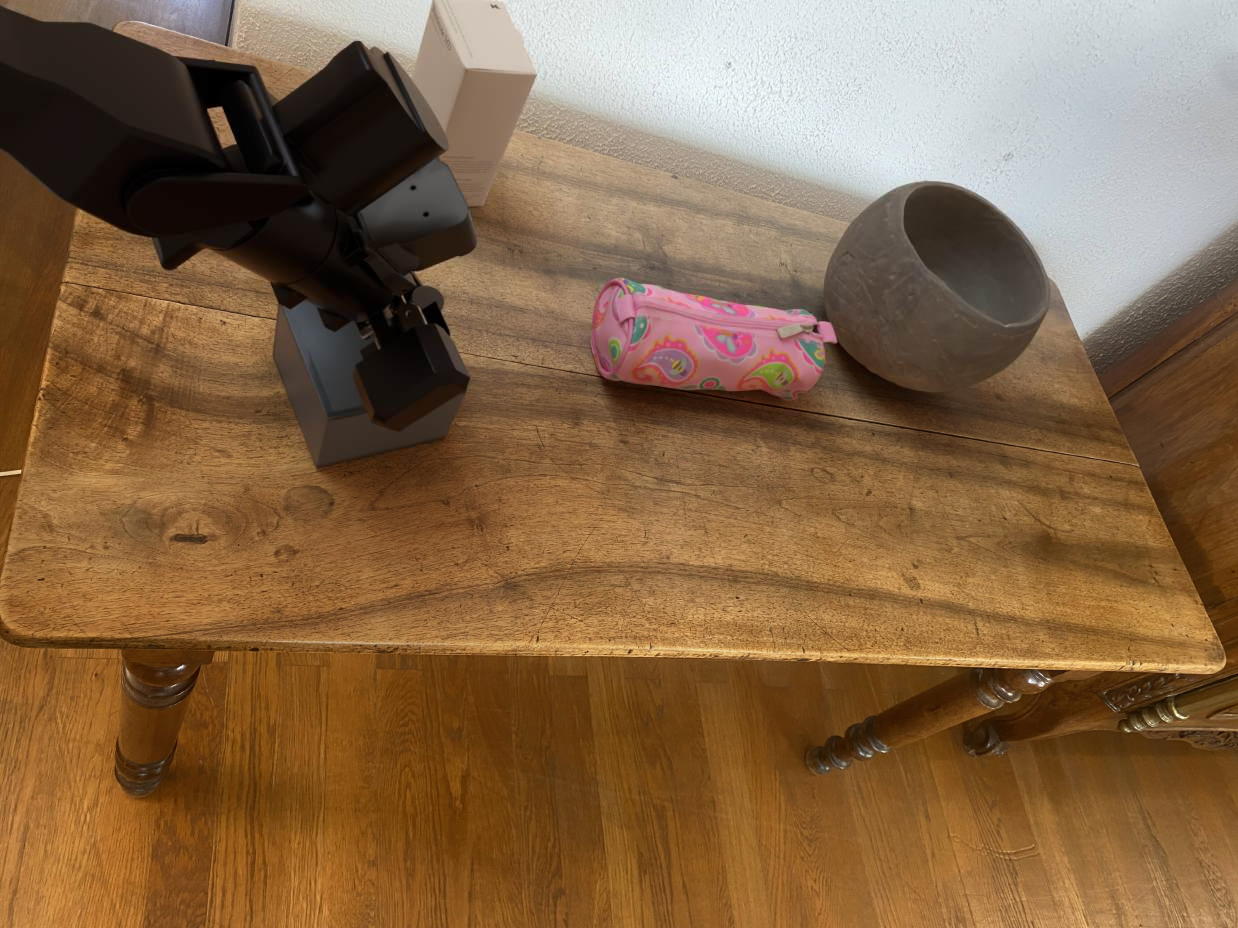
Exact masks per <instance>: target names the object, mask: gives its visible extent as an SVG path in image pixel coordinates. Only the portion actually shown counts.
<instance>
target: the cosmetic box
mask: <svg viewBox="0 0 1238 928" xmlns="http://www.w3.org/2000/svg"><path fill="white" fill-rule="evenodd" d="M537 77H538V73H537V71H536V69H535V67H534V65H533V62H532V60H531V58H530V56H529V53H528V51H527V50H526V47H525V39H524V37H523V35H522V33H521V31H520V30H519V29H518V28H516V26H515V24H514V22H513V19H512V17H511V15H510V13H509V11H508V8H507V7H506V3H505V2H504V1H499V0H431V4H430V7H429V12H428V16H427V20H426V23H425V27H424V31H423V34H422V39H421V41H420V46H419V50H418V53H417V56H416V61H415V64H414V68H413V72H412V76H411V79H412V81H413V82H414V83H415V85H416V86H417V88H418V89H419V91H420V92H421V94H422V95H423V97H424V98H425V100H426V101H427V103H428V104H429V106H430V107H431V109H432V111H433V112H434V114H435V116H436V117H437V119H438V121H439V123H440V125H441V126H442V128H443V130H444V132H445V135H446V137H447V140H448V143H449V150H448V151H446V152H445V153H443V154H442V155H441V156H439V158H440V160H441V161H442V162H444V163H446V164H447V165H448V166H449V168H450V170H451V172H452V174H453V176H454V178H455V180H456V182H457V184H458V186H459V188H460V190H461V192H462V194H463V196H464V198H465V200H466V202H467V204H468V207H469V208H471V207H483V206H484V205H485V201H486V200H487V198H488V194H489V192H490V190H491V188H492V185H493V183H494V180H495V177H496V175H497V173H498V170H499V168H500V165H501V163H502V161H503V159H504V157H505V153H506V151H507V149H508V146H509V143H510V141H511V139H512V136H513V134H514V132H515V129H516V127H517V124H518V122H519V120H520V117H521V115H522V112H523V110H524V107H525V105H526V103H527V101H528V97H529V95H530V93H531V91H532V88H533V86H534V84H535V81H536V79H537Z"/></svg>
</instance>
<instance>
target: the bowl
mask: <svg viewBox="0 0 1238 928" xmlns="http://www.w3.org/2000/svg"><path fill="white" fill-rule="evenodd" d="M822 289H823V291H822V296H823V303H824V304H823V306H824V311H825V315H826V319H827V322H830V323H831V325H832V327H833V329H834V332H835V335H836V339H837V343H839V345H840V346H841V347H842V348H843V349H844V350H845V351H846V353H847V354H849V355H850V357H852V358H853V359H854V360H855V361H856V362H858V363H859V364H861V365H862V366H863V367H865V369H867V370H868V371H870V373H872V374H876V375H877V376H879V377H881V378H882V379H884V380H887V381H888V382H892V383H893V384H895V385H897V386H899V387H901V388H904V389H908V390H913V391H918V392H919V391H920V392H926V393H943V392H949V391H953V390H958V389H962V388H963V389H964V388H966V387H970V386H973V385H976V384H979V383H982V382H983V381H986V380H989V379H990V378H992V377H994V376H995V375H998V374H999V373H1001V372H1003V371H1004V370H1005V369H1007V368H1008V367H1009V366H1010V365H1012V364H1013V363H1014V362H1015V361H1016V360H1018V358H1019V357H1020V356H1021V355H1022V354H1024V352H1025V351H1026V349H1027V348H1028V347H1029V346H1030V344H1031V342H1032V341H1033V340H1034V338H1035V336H1036V335H1037V332H1038V331H1039V329H1040V327H1041V325H1042V323H1043V321H1044V320H1045V318H1046V316H1047V313H1048V312H1049V308H1050V303H1051V293H1052V292H1051V285H1050V279H1049V277H1048V274H1047V272H1046V269H1045V266H1044V264H1043V262H1042V259H1041V258H1040V256H1039V254H1038V253H1037V251H1036V249H1035V248H1034V245H1033V244H1032V242H1031V241H1030V240H1029V238H1028V237H1027V236H1026V234H1025V233H1024V231H1023V230H1022V229H1021V228H1020V226H1018V225H1017V224H1016V223H1015V222H1014V220H1012V219H1011V217H1009V216H1008V215H1007V214H1006V213H1004V212H1003V211H1002V210H1001V209H1000V208H998V207H997V206H996V205H995V204H994V203H992V202H991V201H989V200H988V199H987V198H985V197H983V195H980V194H978V193H976V192H974V191H973V190H970V189H968V188H966V187H964V186H962V185H958V184H956V183H953V182H946V181H940V180H920V181H914V182H908V183H906V184H903V185H899V186H897V187H895V188H893V189H891V190H890V191H888V192H886V193H883V195H881V196H879V198H877V199H876V200H874V201H873V202H871V203H870V204H869V205H868V206H867V207H866V208H864V209H863V211H861V212H860V213H859V214H858V215H857V216H856V217H855V218H854V219H853V220H852V221H851V222H850V224H849V225H848V226H847V228H846V229H845V231H844V233H842V236H841V237H840V240H839V241H838V243H837V245H836V247H835V248H834V250H833V252H832V254H831V256H830V258H829V260H828V263H827V267H826V271H825V274H824V278H823V288H822Z"/></svg>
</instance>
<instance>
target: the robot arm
mask: <svg viewBox="0 0 1238 928" xmlns="http://www.w3.org/2000/svg"><path fill="white" fill-rule="evenodd" d="M215 108H222V112H223V114H224V116H225V118H226V121H227V123H228V126H229V128H230V130H231V131H230V132H231V133H232V136H233V138H234V141H235V143H233V144H230V145H228V146H224V147H223V145H222V143H221V140H220V138H219V134H218V132H217V129H216V128H215V124H214V123H213V120H212V118H211V115H210V113H209V110H210V109H215ZM208 109H209V110H208ZM448 150H449V143H448V140H447V137H446V135H445V132H444V130H443V128H442V126H441V125H440V123H439V121H438V119H437V117H436V116H435V114H434V112H433V111H432V109H431V107H430V106H429V104H428V103H427V101H426V100H425V98H424V97H423V95H422V94H421V92H420V91H419V89H418V88H417V86H416V85H415V83H414V82H413V81H412V77H411V76H410V75H409V74H408V73H407V71H406V70H405V69H404V68H403V66H402V65H401V64H400V63H399V62H398V60H397V59H396V58H395V57H394V56H393V54H391V53H390V51H388V50H387V51H386V52H384V51H383V50H381V48H379V47H377V46H375V45H374V46H372V47H370V49H369V48H368V47H367V46H366V45H365V44H364V42H362V41H361V40H353V41H352V42H351V43H349V44H347V46H345V47H344V48H343V49H341V50H340V51H339V52H338V53H336V54H335V55H334V56H333V57H332V59H330V61H329V62H328V63H327V64H326V65H325V66H324V67H323V68H321V69H320V70H319V71H318V72H317V73H315V74H314V75H312V76H311V77H310V78H309V79H307V80H306V81H305V82H303V83H302V84H300V85H299V86H297V87H296V88H295V89H294V90H292V91H291V92H289V93H288V94H287V95H286V96H284V97H282V98H281V99H280V100H279V99H278V98H277V97H275V96H274V95H273V94H272V93H271V92H270V91H269V90H268V88H267V86H266V84H265V81H264V79H263V76H262V74H261V71H260V70H259V68H258V66H256V65H252V64H243V63H235V62H228V61H220V60H216V59H205V58H196V57H188V56H180V55H172V54H171V53H169V52H167V51H165V50H163V49H161V48H158V47H155V46H152V45H150V44H148V43H146V42H143V41H140V40H137V39H135V38H133V37H130V36H127V35H124V34H123V33H119V32H116V31H115V30H112V29H109V28H106V27H105V26H104V27H103V26H101V25H98V24H96V23H92V22H89V21H65V20H64V21H63V20H62V21H60V20H59V21H58V20H40V19H37V18H34V17H32V16H28V15H26V14H24V13H21V12H18V11H15V10H13V9H10V8H7V7H4V5H1V4H0V151H2V152H4V153H5V154H6V155H8V156H9V157H10V158H12V160H14V161H15V162H16V163H17V164H19V165H20V166H21V167H22V168H23V169H24V170H25V171H27V172H28V173H29V174H30V175H31V176H32V177H33V178H35V179H36V180H37V181H38V182H39V183H40V184H42V185H43V187H45V188H46V189H47V190H49V191H50V192H51V193H52V194H53V195H55V196H56V197H57V198H58V199H60V200H61V201H62V202H65V203H67V204H69V205H71V206H72V207H75V208H76V209H78V210H81V211H83V212H84V213H87V214H88V215H90V216H92V217H94V218H96V219H98V220H100V221H102V222H104V223H106V224H107V225H110V226H112V227H114V228H115V229H118V230H119V231H122V232H125V233H127V234H130V235H133V236H139V237H144V238H149V239H151V241H152V244H153V247H154V249H155V253H156V255H157V258H158V262H159V264H160V266H161V268H162V269H163V270H165V271H175V270H176V269H177V268H179V267H181V266H182V265H183V264H185V263H186V262H187V261H189V260H190V259H192V258H193V257H194V256H196V255H197V254H199V253H200V252H201V251H204V250H206V249H208V250H209V251H212V252H214V253H215V254H217V255H219V256H221V257H223V258H225V259H226V260H228V261H230V262H232V263H234V264H236V265H238V266H239V267H241V268H244V269H245V270H247V271H249V272H251V273H253V274H254V275H257V276H259V277H260V278H262V279H264V280H266V281H267V282H269V283H270V287H271V289H272V291H273V294H274V296H275V299H276V301H277V305H278V304H280V305H282V306H284V307H286V308H288V309H290V310H291V309H292V308H294V307H295V306H297V305H298V304H300V303H301V302H303V301H304V300H305V301H307V302H309V303H311V304H312V305H314V306H316V307H317V310H318V312H319V315H320V317H321V320H322V322H323V324H324V327H325V328H327V329H329V330H331V331H333V332H336V331H338V330H339V329H341V328H342V327H344V326H345V325H347V324H348V323H350V322H351V321H353V322H354V323H355V326H356V328H357V330H358V333H359V335H360V337H361V338H363V339H365V340H367V339H369V338H370V337H372V336H373V335H374V334H375V335H376V339H375V341H373V342H372V343H370V344H369V345H367V346H366V347H364V348H363V349H361V350H360V353H361V355H362V358H363V360H362V361H360V362H359V363H357V364H356V365H355V367H354V371H353V375H352V378H353V380H354V383H355V385H356V388H357V390H358V392H359V395H360V397H361V400H362V402H363V404H364V407H365V409H366V412H367V414H368V416H369V419H370V421H371V423H373V424H375V425H378V426H381V427H383V428H386V429H389V430H392V431H396V432H400V431H402V430H404V429H405V428H407V427H408V426H410V425H411V424H413V423H415V422H416V421H418V420H419V419H421V418H423V417H424V416H426V415H427V414H429V413H431V412H432V411H434V410H435V409H437V408H439V407H440V406H442V405H443V404H445V403H447V402H448V401H450V400H451V399H453V398H454V397H456V396H458V395H459V394H461V393H462V392H464V391H466V390H467V391H468V388H469V387H468V386H469V383H470V380H471V376H470V373H469V371H468V369H467V367H466V364H465V362H464V360H463V358H462V356H461V353H460V352H459V350H458V348H457V344H456V343H455V341H453V339H452V338H451V330H450V328H449V325H447V324H448V323H447V322H446V319H445V317H444V315H443V313H442V312H441V311H440V309H439V306H438V304H437V302H436V301H434V302H433V303H431V304H430V305H428V306H427V307H425V308H424V309H422V310H421V309H420V307H419V306H417V305H416V304H414V303H409V302H410V299H411V296H412V293H413V291H414V290H415V289H416V288H417V287H420V286H424V284H423V283H422V281H421V280H420V278H419V277H418V276H417V274H416V273H415V272H422V271H424V270H427V269H429V268H432V267H434V266H436V265H439V264H441V263H444V262H447V261H449V260H451V259H454V258H457V257H459V258H461V257H464V256H466V255H469V254H470V253H472V252H473V251H474V250H475V249H476V247H477V245H478V236H477V234H476V229H475V225H474V222H473V221H474V220H473V218H472V214H471V211H470V207H468V204H467V202H466V200H465V198H464V196H463V194H462V192H461V190H460V188H459V186H458V184H457V182H456V180H455V178H454V176H453V174H452V172H451V170H450V168H449V166H448V165H447V164H446V163H444V162H442V161H441V160H440V158H439V156H441V155H442V154H443V153H445V152H446V151H448ZM390 305H391V306H390ZM392 310H393V311H392ZM467 391H466V392H467Z"/></svg>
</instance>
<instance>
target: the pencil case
mask: <svg viewBox="0 0 1238 928" xmlns="http://www.w3.org/2000/svg"><path fill="white" fill-rule="evenodd" d="M825 343H830V344H833V345H835V344H837V343H838V340H837V339H836V335H835V332H834V329H833V327H832V325H831V323H830V322H828V321H825V320H824V321H823V320H822V321H818V319H817V318H816V316H814V314H813V311H811V310H808V311H807V310H806V309H803V308H792V309H786V310H783V309H782V310H781V309H778V308H772V307H768V306H767V307H766V306H763V305H762V306H761V305H752V304H741V303H737V302H733V301H726V300H722V299H721V300H720V299H715V298H712V297H708V296H704V295H698V294H691V293H687V292H686V293H685V292H679V291H676V290H672V289H667V288H665V287H663V286H661V285H657V284H648V283H638V282H635V281H632V280H630V279H629V278H625V277H616V278H613V279H610V280H608V282H606V283H605V284H604V286H603V287H602V288H601V290H600V292H599V294H598V295H597V298H596V300H595V303H594V306H593V312H592V319H591V334H590V348H591V352H592V356H593V359H594V361H595V365H596V368H597V370H598V372H599V374H600V375H601V376H602V377H603V378H605V379H607V380H610V381H614V382H620V381H622V382H626V383H630V384H636V385H644V386H657V387H661V388H662V387H663V388H666V389H667V388H668V389H675V390H681V391H682V390H683V391H695V390H720V391H726V392H743V391H755V390H757V391H758V390H761V391H764V392H765V393H767V394H769V395H771V396H775V397H780V398H781V399H782V400H784V401H787V402H791V401H796V400H797V399H799V398H800V397H801V396H803V395H805V394H806V393H807V392H808V391H810V390H811V389H812V388H813V387H814V386H815V385H817V382H818V381H819V380H820V377H821V375H822V373H823V370H824V367H825V363H826V349H825Z"/></svg>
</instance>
